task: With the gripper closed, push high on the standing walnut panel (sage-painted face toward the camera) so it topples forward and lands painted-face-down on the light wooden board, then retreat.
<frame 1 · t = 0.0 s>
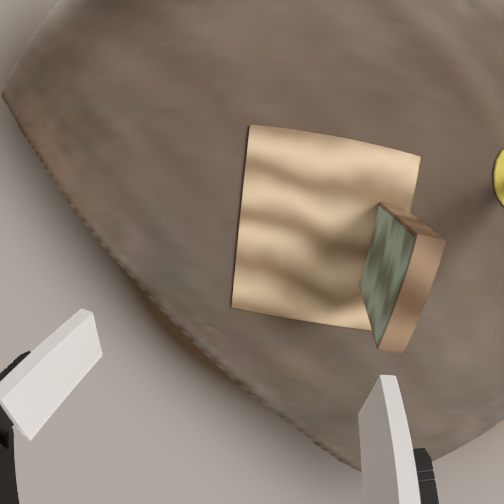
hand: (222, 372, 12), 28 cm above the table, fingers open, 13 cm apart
panel: (380, 247, 36), resting on light wooden board
light wooden board: (322, 236, 37), on the table
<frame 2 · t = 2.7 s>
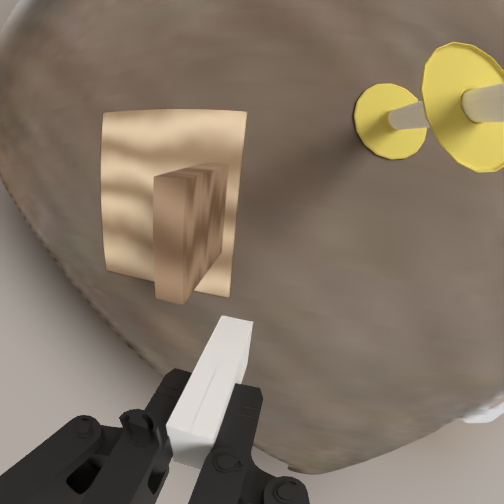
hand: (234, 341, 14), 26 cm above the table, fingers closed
panel: (214, 208, 38), resting on light wooden board
light wooden board: (161, 201, 39), on the table
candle: (391, 121, 30), on the table
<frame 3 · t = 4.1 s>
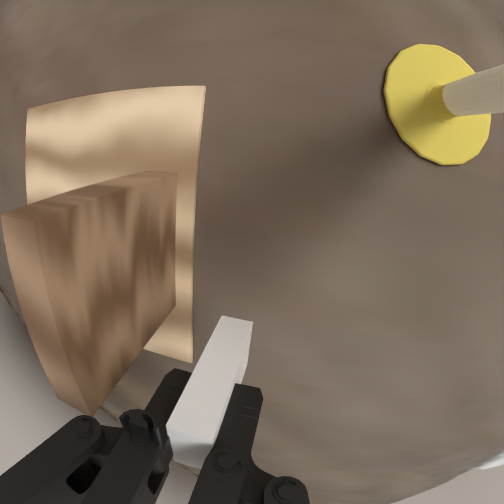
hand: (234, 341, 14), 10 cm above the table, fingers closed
panel: (159, 242, 24), resting on light wooden board
light wooden board: (93, 228, 25), on the table
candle: (441, 103, 16), on the table
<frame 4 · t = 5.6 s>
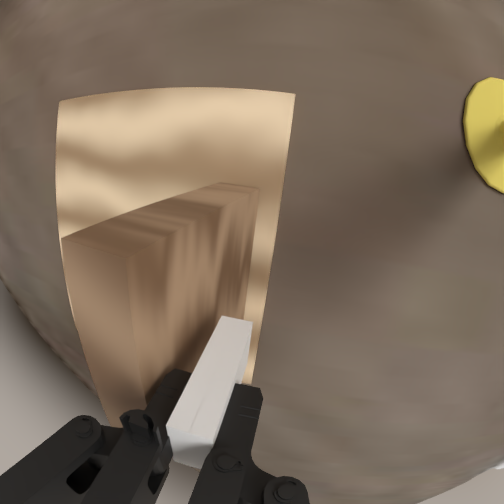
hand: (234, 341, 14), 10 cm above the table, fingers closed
panel: (231, 262, 22), point 1 cm above the table, tilted 6°, touching light wooden board
light wooden board: (144, 242, 24), on the table
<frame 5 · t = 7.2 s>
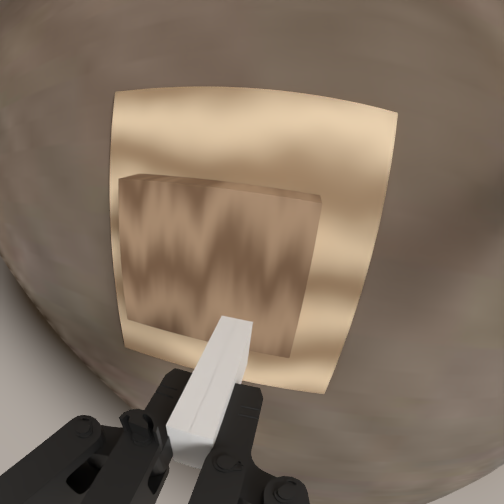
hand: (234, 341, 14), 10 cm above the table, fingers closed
panel: (305, 281, 20), point 2 cm above the table, tilted 90°, touching light wooden board
light wooden board: (227, 256, 23), on the table
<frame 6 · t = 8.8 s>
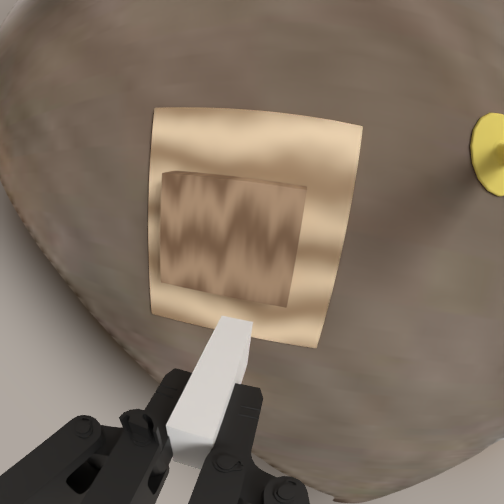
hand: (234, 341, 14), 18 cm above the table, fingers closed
panel: (297, 248, 29), point 2 cm above the table, tilted 90°, touching light wooden board
light wooden board: (239, 232, 31), on the table
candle: (499, 154, 22), on the table
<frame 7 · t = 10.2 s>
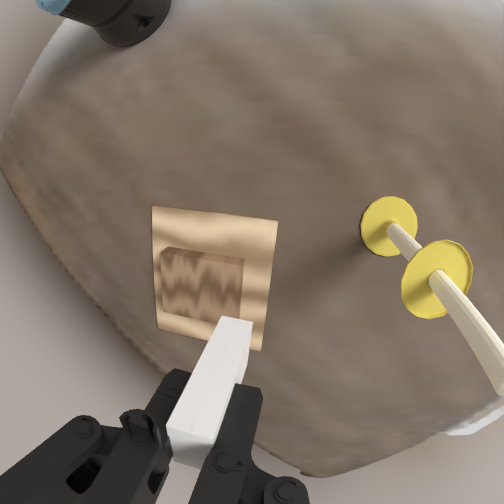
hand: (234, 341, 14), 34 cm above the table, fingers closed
panel: (239, 294, 49), point 2 cm above the table, tilted 90°, touching light wooden board
light wooden board: (208, 282, 52), on the table
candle: (389, 226, 43), on the table
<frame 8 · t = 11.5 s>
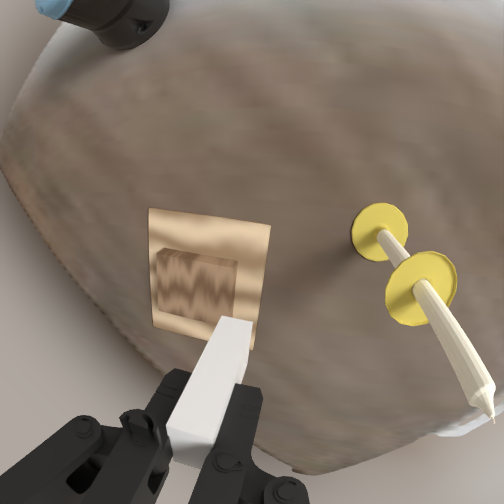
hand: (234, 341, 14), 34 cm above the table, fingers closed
panel: (232, 295, 51), point 2 cm above the table, tilted 90°, touching light wooden board
light wooden board: (202, 283, 53), on the table
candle: (380, 232, 44), on the table
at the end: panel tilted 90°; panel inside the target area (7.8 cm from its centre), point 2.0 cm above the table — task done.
